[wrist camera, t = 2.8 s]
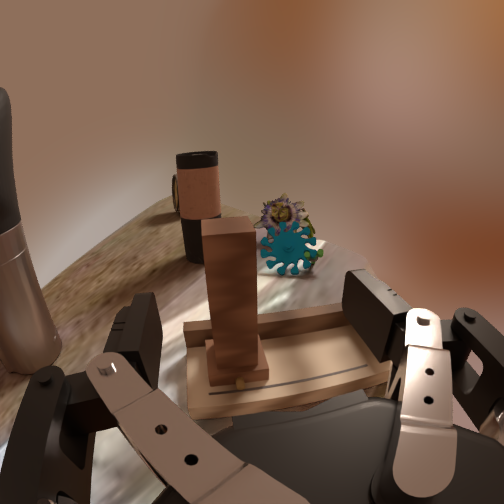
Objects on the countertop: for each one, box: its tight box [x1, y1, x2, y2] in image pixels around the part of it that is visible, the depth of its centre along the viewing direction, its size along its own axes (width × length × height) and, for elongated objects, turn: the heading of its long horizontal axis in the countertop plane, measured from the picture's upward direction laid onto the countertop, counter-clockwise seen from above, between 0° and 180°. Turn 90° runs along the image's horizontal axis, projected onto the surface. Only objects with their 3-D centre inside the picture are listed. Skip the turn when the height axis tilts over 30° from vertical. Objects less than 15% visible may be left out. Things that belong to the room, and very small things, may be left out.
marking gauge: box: [201, 216, 269, 390], centre depth 25 cm, size 6×6×15 cm
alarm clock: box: [172, 175, 180, 212], centre depth 83 cm, size 11×5×16 cm, turn 23°
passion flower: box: [254, 193, 315, 240], centre depth 64 cm, size 11×11×12 cm
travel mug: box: [176, 151, 221, 264], centre depth 54 cm, size 8×8×20 cm
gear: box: [261, 221, 323, 275], centre depth 53 cm, size 11×6×10 cm
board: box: [183, 303, 392, 420], centre depth 29 cm, size 21×10×4 cm, turn 100°
